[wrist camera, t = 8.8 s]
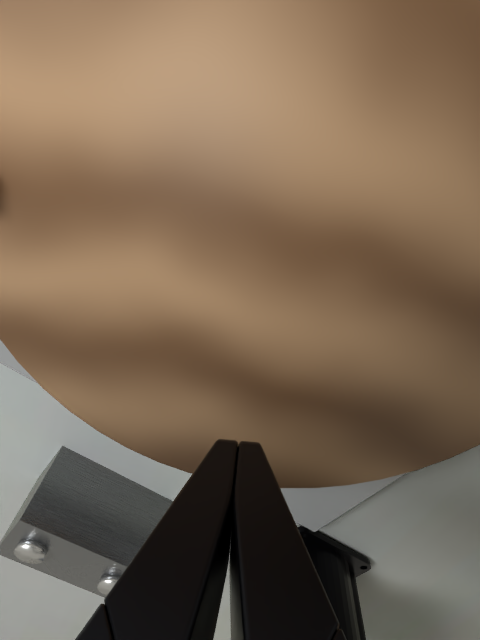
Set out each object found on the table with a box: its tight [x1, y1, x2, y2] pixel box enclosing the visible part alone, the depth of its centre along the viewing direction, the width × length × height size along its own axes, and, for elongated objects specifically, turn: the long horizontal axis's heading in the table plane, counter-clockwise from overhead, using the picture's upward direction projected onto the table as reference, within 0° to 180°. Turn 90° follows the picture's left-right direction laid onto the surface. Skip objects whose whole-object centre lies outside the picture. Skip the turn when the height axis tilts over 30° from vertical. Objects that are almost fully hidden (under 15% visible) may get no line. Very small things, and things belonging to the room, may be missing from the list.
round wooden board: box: [0, 0, 480, 488], centre depth 13 cm, size 25×25×5 cm
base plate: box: [0, 340, 406, 532], centre depth 15 cm, size 28×28×4 cm
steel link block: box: [0, 446, 172, 597], centre depth 24 cm, size 8×4×5 cm, turn 53°
